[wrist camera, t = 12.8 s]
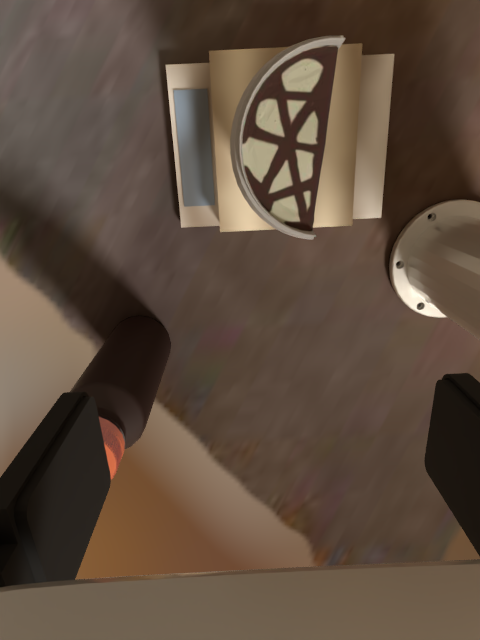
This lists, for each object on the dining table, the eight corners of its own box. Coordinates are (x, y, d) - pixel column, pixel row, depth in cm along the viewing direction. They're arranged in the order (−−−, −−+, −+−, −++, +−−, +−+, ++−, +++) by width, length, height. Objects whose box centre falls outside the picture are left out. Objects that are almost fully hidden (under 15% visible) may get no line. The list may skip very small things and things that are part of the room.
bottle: (99, 337, 46) (10, 455, 28) (144, 303, 45) (81, 403, 26) (139, 378, 48) (81, 514, 30) (183, 347, 47) (151, 469, 28)
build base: (388, 57, 37) (413, 40, 31) (376, 215, 42) (396, 223, 37) (168, 68, 37) (157, 53, 31) (183, 225, 42) (176, 234, 37)
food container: (236, 58, 32) (238, 14, 22) (313, 66, 32) (347, 26, 23) (225, 218, 36) (223, 237, 27) (293, 223, 36) (314, 244, 27)
